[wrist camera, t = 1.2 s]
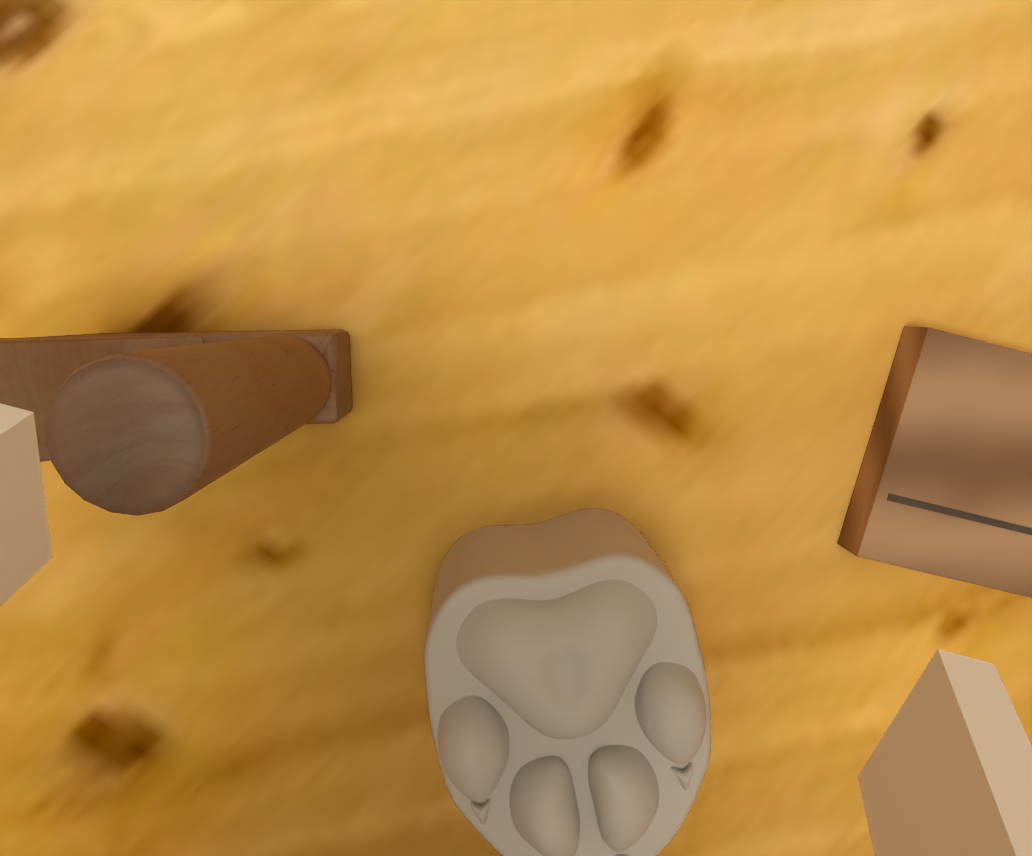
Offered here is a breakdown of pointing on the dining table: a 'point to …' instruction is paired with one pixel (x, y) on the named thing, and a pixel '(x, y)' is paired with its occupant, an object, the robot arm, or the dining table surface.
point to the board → (950, 464)
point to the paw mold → (566, 688)
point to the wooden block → (169, 404)
